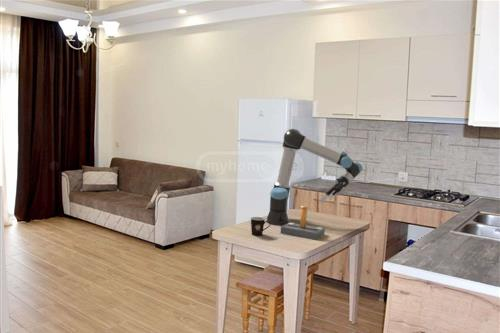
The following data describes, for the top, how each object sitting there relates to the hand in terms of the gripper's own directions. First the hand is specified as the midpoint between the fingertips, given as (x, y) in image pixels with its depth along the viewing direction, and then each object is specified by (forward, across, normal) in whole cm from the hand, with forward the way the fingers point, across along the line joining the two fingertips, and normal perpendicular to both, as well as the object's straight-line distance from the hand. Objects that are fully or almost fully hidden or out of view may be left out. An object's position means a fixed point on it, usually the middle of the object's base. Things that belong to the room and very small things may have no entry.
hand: (324, 199), depth 297 cm
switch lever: (+31, -9, -4) cm, 32 cm away
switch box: (+31, -9, -4) cm, 32 cm away
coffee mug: (+52, -9, +14) cm, 55 cm away
